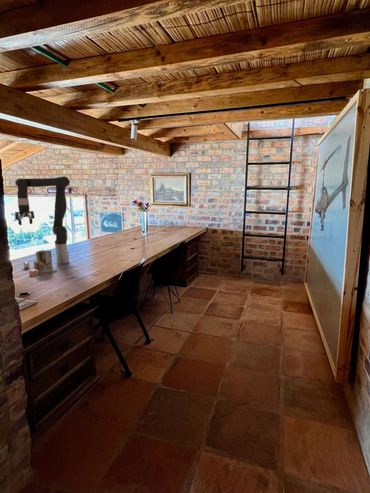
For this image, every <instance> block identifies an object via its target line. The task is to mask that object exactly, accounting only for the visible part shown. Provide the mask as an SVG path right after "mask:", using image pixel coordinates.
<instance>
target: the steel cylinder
mask: <svg viewBox="0 0 370 493" xmlns="http://www.w3.org/2000/svg"><path fill="white" fill-rule="evenodd" d="M23 270H30V262H29V261H26V262H23Z"/></svg>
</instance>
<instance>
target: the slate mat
mask: <svg viewBox="0 0 370 493" xmlns="http://www.w3.org/2000/svg"><path fill="white" fill-rule="evenodd" d="M57 272H58V270H55V269H53V271H50V272H48V273H46V272H38V270H37V273H38V275H40V276H46V275H51V274H53V273H57Z"/></svg>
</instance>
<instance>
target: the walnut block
mask: <svg viewBox="0 0 370 493" xmlns="http://www.w3.org/2000/svg"><path fill="white" fill-rule="evenodd" d="M33 267H34V268H36V269H38V267H37V260H35V261H33Z"/></svg>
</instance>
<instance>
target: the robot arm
mask: <svg viewBox="0 0 370 493" xmlns="http://www.w3.org/2000/svg"><path fill="white" fill-rule="evenodd" d="M15 185H16V187H17V193H16V194H17V205H18V211H14V217H15V218H14V219H15V221H16V220H17V221H18V225H19V226H22V225H23V224H22V219H23V218H28V219H29V220H28V221H29V222H28V223H29V224H30V225H32V224H33V219H35V214H34V213H35V212H34V210H30V209H31V208H30V202H29V196H28V195H29V194H28V189H29V188H40V187H41V188H43V187H55V201H54V217H53V218H54V219H53V225H52V233H53V234H54V235H55V238H56V239H55V241H54V247H55V256H56V258H55V260H56V264H60V265H61V264H67V263H69V262H70V259H69V258H70V256H69V251H68V244H67V241H68V231H67V228H66V227H65V226H63V225H64V224H63V222H64V217H65V216H66V213H67V198H66V188H67V187H68V186H69V185H70V179H69V178H68V177H67V176H65V175H61V176H58V177H31V178H23V177H20V178H17V179H16V180H15Z"/></svg>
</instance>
